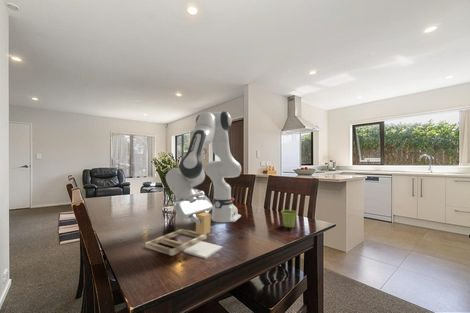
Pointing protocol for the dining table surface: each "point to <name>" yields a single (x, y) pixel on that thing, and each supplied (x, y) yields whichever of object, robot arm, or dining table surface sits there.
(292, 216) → the plant pot
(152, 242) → the puzzle board
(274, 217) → the dining table surface
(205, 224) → the ochre block
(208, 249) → the white square plate
